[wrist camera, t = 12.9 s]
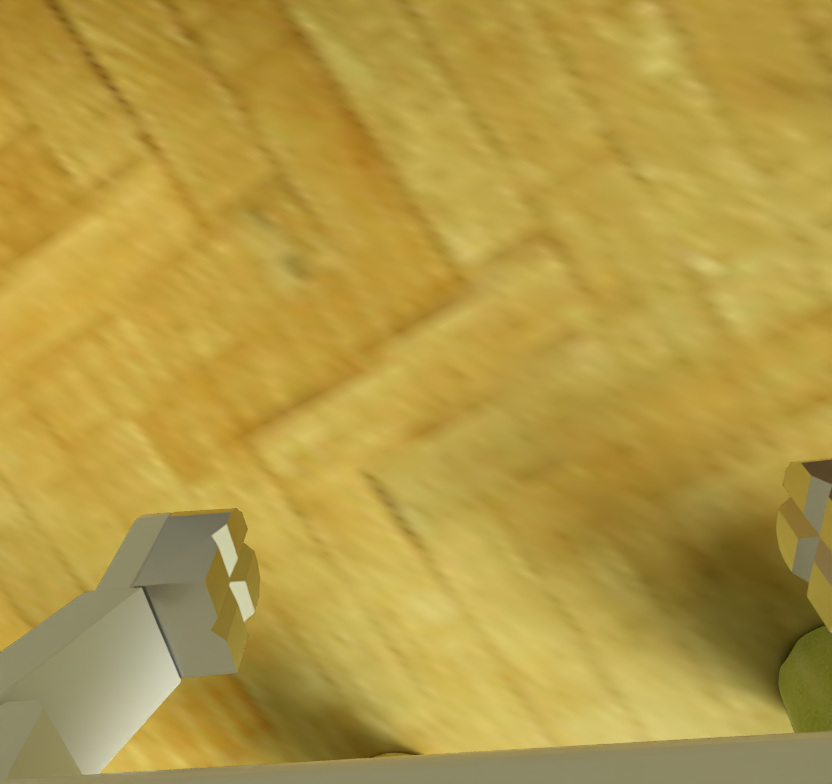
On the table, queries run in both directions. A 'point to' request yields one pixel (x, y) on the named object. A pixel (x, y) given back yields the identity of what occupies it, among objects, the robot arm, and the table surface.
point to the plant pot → (809, 682)
